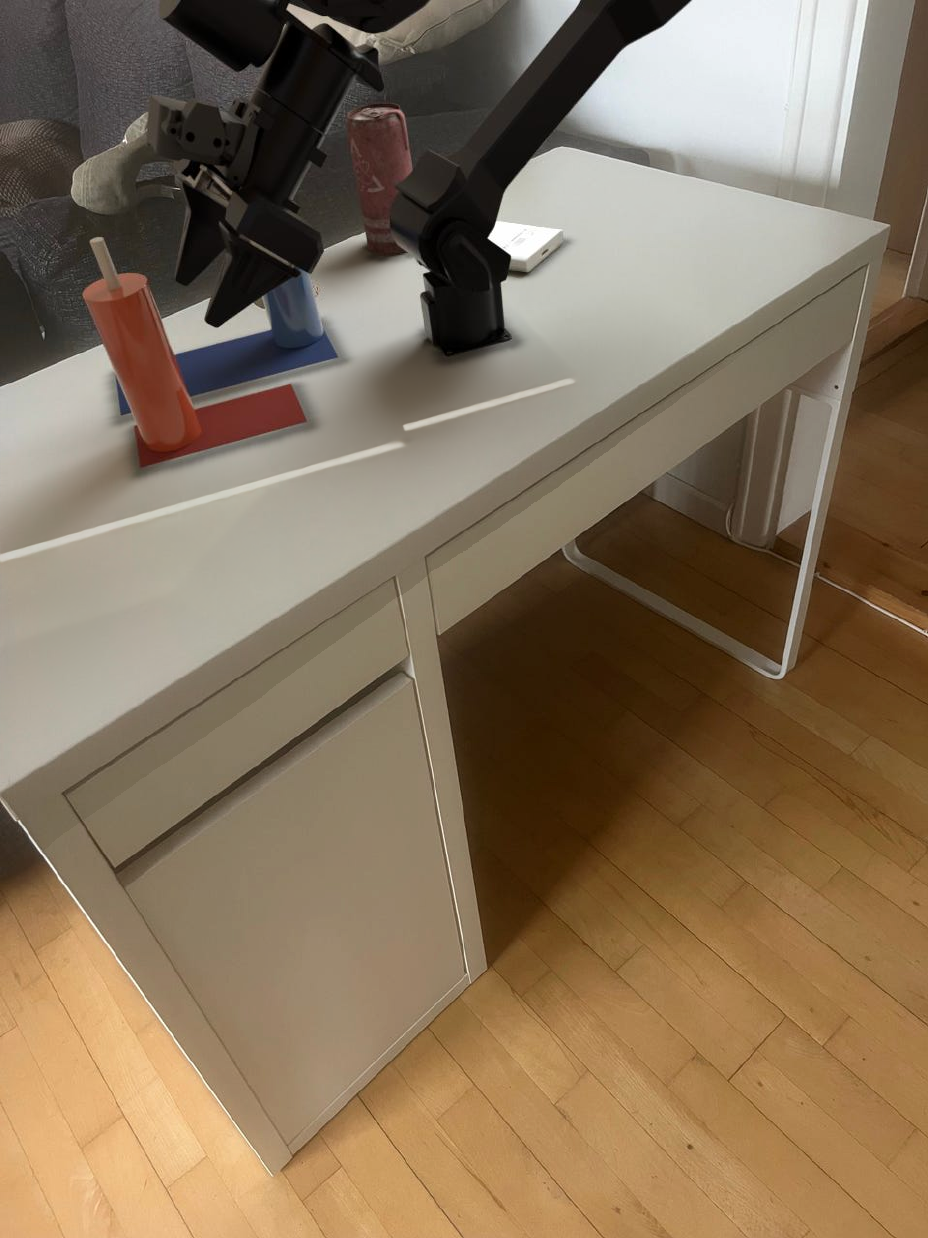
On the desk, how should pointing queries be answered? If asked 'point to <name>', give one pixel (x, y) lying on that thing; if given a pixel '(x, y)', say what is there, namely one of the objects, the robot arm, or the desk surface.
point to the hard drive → (525, 243)
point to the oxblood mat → (234, 422)
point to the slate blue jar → (294, 313)
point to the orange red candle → (141, 355)
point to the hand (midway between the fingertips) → (194, 303)
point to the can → (378, 168)
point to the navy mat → (241, 362)
